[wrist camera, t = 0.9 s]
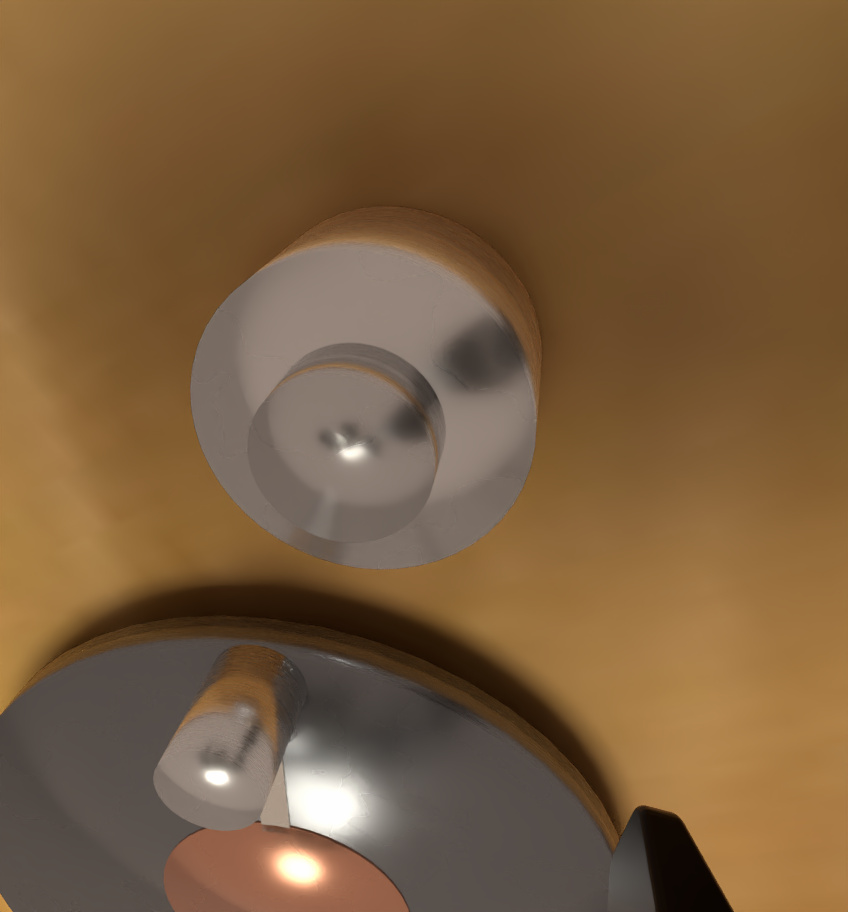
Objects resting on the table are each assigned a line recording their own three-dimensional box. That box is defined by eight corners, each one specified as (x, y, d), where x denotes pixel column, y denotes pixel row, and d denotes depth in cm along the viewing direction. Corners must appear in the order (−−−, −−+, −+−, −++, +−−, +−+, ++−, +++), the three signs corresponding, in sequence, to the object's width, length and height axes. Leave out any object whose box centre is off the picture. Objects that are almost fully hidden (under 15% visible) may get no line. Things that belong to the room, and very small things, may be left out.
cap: (433, 140, 15) (380, 187, 11) (596, 401, 17) (606, 527, 13) (199, 307, 18) (81, 400, 14) (366, 519, 20) (310, 659, 16)
